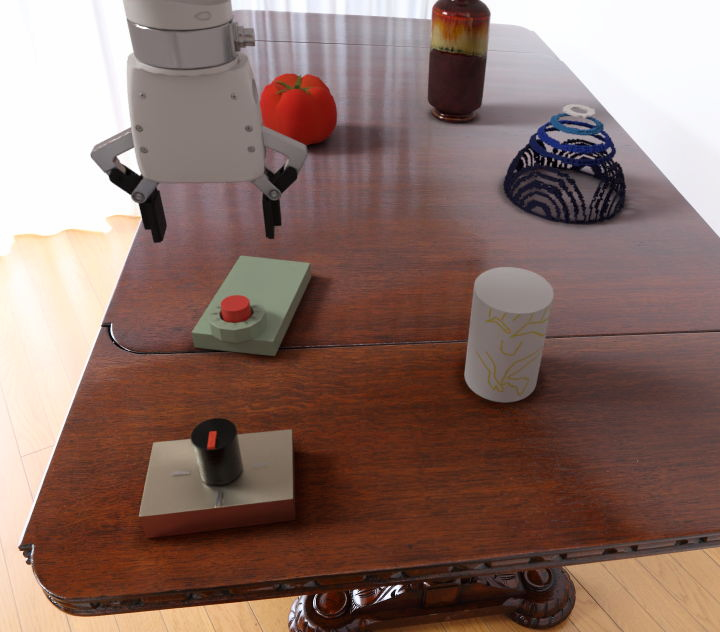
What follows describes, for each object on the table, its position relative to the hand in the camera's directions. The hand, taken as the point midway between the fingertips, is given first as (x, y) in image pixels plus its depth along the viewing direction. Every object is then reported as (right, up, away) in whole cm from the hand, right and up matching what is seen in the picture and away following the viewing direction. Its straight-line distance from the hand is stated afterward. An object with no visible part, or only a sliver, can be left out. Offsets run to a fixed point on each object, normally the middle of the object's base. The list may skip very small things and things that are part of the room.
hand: (216, 233), depth 63 cm
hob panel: (+2, -23, -2) cm, 24 cm away
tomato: (-7, +24, +59) cm, 64 cm away
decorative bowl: (+39, +13, +51) cm, 66 cm away
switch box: (-2, -7, +19) cm, 20 cm away
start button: (-2, -8, +12) cm, 14 cm away
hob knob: (+2, -21, -4) cm, 21 cm away
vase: (+20, +33, +75) cm, 85 cm away
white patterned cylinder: (+27, -15, +13) cm, 33 cm away
